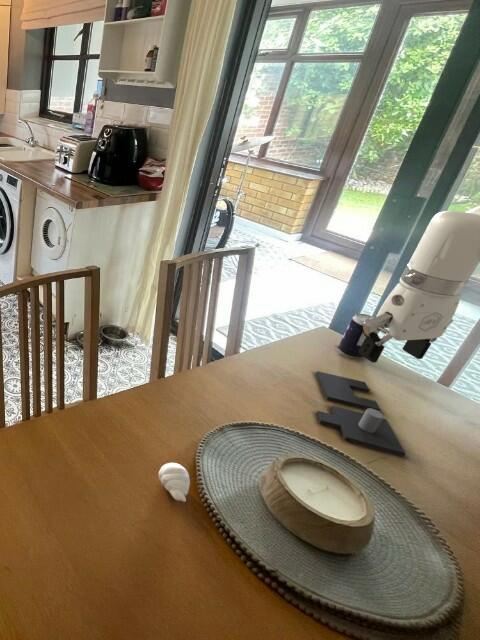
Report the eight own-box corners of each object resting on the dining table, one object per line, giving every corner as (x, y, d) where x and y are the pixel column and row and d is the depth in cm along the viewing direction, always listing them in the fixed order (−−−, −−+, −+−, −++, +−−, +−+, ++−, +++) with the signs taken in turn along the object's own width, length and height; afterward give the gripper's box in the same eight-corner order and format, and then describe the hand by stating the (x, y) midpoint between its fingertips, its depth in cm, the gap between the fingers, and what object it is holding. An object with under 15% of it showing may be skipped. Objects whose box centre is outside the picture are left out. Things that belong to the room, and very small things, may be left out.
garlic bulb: (163, 507, 77) (169, 488, 75) (154, 477, 82) (159, 459, 80) (193, 510, 76) (200, 492, 74) (183, 481, 82) (189, 462, 79)
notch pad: (363, 384, 105) (365, 382, 104) (379, 412, 97) (380, 409, 96) (315, 373, 109) (316, 370, 108) (326, 399, 100) (328, 396, 100)
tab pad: (384, 422, 94) (395, 404, 92) (403, 456, 86) (416, 438, 84) (312, 403, 99) (320, 386, 97) (323, 434, 91) (333, 416, 89)
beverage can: (360, 351, 117) (379, 316, 111) (365, 362, 112) (384, 327, 107) (335, 344, 119) (352, 310, 114) (338, 355, 115) (355, 320, 110)
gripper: (410, 294, 69) (367, 372, 76) (501, 288, 70) (450, 366, 78) (367, 273, 75) (331, 347, 83) (451, 268, 77) (408, 341, 84)
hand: (389, 356), depth 80 cm, fingers open, 9 cm apart
